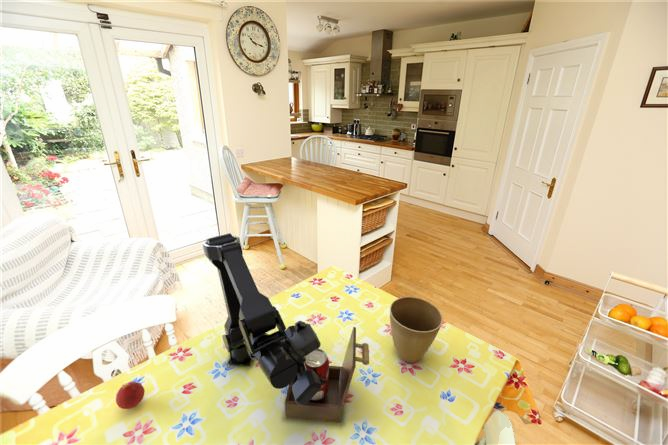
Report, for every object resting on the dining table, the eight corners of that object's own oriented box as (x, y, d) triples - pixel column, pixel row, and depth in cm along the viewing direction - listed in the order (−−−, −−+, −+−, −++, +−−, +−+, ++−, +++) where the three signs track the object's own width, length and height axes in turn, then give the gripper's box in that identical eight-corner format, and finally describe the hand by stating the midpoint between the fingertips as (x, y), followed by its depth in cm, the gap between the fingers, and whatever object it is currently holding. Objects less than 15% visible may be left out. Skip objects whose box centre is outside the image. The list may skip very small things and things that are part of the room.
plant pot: (414, 383, 81) (422, 340, 74) (375, 349, 91) (379, 309, 85) (443, 355, 89) (453, 315, 83) (404, 328, 100) (410, 290, 93)
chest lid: (352, 366, 63) (371, 370, 63) (353, 326, 73) (369, 330, 73) (339, 407, 68) (357, 410, 68) (342, 365, 79) (357, 368, 79)
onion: (142, 390, 78) (134, 368, 74) (151, 403, 74) (143, 382, 71) (117, 406, 74) (107, 384, 70) (125, 421, 70) (115, 399, 67)
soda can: (325, 405, 72) (325, 371, 67) (299, 399, 73) (297, 365, 68) (330, 381, 78) (331, 348, 73) (306, 376, 79) (306, 343, 74)
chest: (285, 417, 72) (284, 403, 70) (295, 376, 82) (294, 362, 80) (340, 422, 71) (341, 408, 69) (342, 379, 81) (343, 366, 79)
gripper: (311, 358, 57) (358, 378, 65) (287, 300, 72) (328, 322, 81) (273, 399, 57) (325, 414, 66) (258, 332, 73) (301, 351, 81)
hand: (320, 370), depth 73 cm, fingers closed on soda can, 7 cm apart
